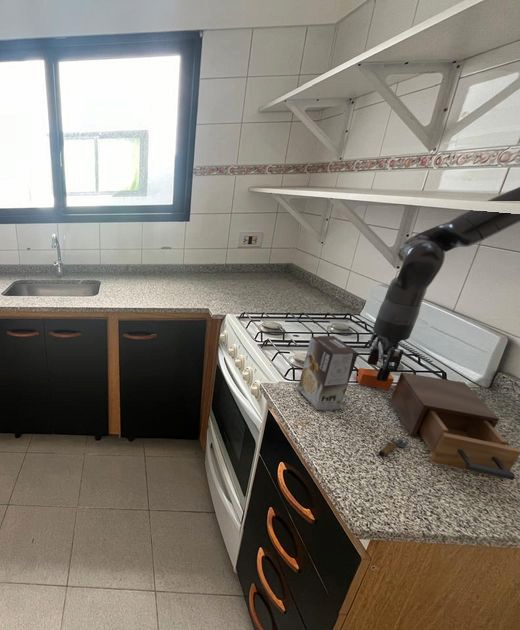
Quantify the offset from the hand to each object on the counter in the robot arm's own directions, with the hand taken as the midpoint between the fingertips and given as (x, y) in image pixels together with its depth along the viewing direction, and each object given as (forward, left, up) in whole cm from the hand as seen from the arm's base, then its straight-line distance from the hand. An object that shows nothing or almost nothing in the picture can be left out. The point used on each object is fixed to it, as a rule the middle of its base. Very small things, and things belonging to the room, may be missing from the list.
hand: (375, 371), depth 94 cm
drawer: (-8, +26, -3) cm, 27 cm away
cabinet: (-8, +14, -4) cm, 17 cm away
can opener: (+3, +27, -4) cm, 27 cm away
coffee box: (+15, +13, -4) cm, 20 cm away
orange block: (0, 0, -4) cm, 4 cm away
